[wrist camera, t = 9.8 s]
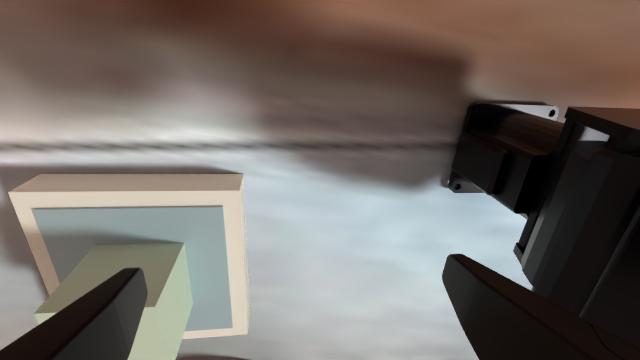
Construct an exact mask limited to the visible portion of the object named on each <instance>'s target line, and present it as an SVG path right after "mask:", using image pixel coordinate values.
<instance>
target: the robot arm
mask: <svg viewBox="0 0 640 360" xmlns="http://www.w3.org/2000/svg"><path fill="white" fill-rule="evenodd" d="M477 107H478V111H477V112H476V113H474V112H475V109H476V108H477ZM550 111H551V112H550ZM549 112H550V114H549ZM558 113H559V109H558V107H556V106H552V105H538V104H512V103H486V102H475V103H472V104H471V105H470V106H469V108H468V110H467V114H466V118H465V122H464V126H463V130H462V134H461V135H460V138H459V142H458V146H457V150H456V154H455V158H454V162H453V166H452V168H453V169H452V173H451V177H450V181H449V189H450V190H451V191H453V192H454V193H486V194H487V195H490V196H492V197H493V198H494V199H496V200H497V201H499V202H500V203H501V204H503V205H504V206H506V207H507V208H508V209H510V210H511V211H513V212H514V213H517V214H520V215H521V216H523V217H524V218H526V219H527V222H526V225H525V227H524V230H523V232H522V235H521V237H520V240H519V243H516V245H515V247H514V250H513V252H514V253H515V255H516V257H517V258H518V260H519V262H520V264H521V265H522V271H523V272H524V274H525V276H526V277H527V279H528V280H529V282H530V283H531V285H532V286H533V287H532V289H531V291H530V290H529V289H527V288H525V287H523V286H521V285H519V284H517V283H515V282H514V281H512V280H510V279H508V278H506V277H504V276H502V275H501V274H499V273H497V272H495V271H493V270H491V269H489V268H487V267H486V266H484V265H482V264H480V263H478V262H476V261H474V260H472V259H471V258H469V257H467V256H465V255H463V254H450V255H449V256H448V257H447V260H446V263H445V267H444V270H443V274H442V280H443V284H444V286H445V288H446V291H447V293H448V295H449V298H450V300H451V303H452V305H453V307H454V310H455V312H456V315H457V317H458V319H459V322H460V324H461V326H462V328H463V330H464V332H465V334H466V336H467V338H468V340H469V342H470V343H471V345H472V347H473V349H474V351H475V353H476V355H477V356H478V358H479V360H640V109H626V108H597V107H568V109H567V112H566V114H565V117H564V118H566V121H565V123H561V122H558V121H556V119H557V116H558ZM548 114H549V115H548ZM456 184H458V186H457V187H455V185H456ZM147 296H148V290H147V285H146V281H145V276H144V272H143V270H142V268H140V267H130V268H124V269H122V270H120V271H119V272H117V273H116V274H114V275H113V276H111V277H110V278H108V279H107V280H105V281H104V282H102V283H101V284H99V285H98V286H96V287H95V288H93V289H92V290H90V291H89V292H87V293H86V294H84V295H83V296H81V297H80V298H78V299H77V300H75V301H74V302H72V303H71V304H69V305H68V306H66V307H65V308H63V309H62V310H60V311H59V312H57V313H56V314H54V315H53V316H51V317H50V318H48V319H47V320H45V321H44V322H42V323H41V324H39V325H38V326H36V327H35V328H33V329H32V330H30V331H29V332H27V333H26V334H24V335H23V336H21V337H20V338H18V339H17V340H15V341H14V342H12V343H11V344H9V345H8V346H6V347H5V348H3V349H2V350H0V360H128V357H129V355H130V352H131V349H132V346H133V343H134V340H135V336H136V333H137V330H138V327H139V323H140V320H141V317H142V313H143V310H144V307H145V304H146V300H147Z"/></svg>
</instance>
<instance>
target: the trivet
mask: <svg viewBox="0 0 640 360" xmlns="http://www.w3.org/2000/svg"><path fill="white" fill-rule="evenodd" d="M8 194H9V196H10V199H11V201H12V204H13V206H14V209H15V211H16V214H17V216H18V219H19V221H20V224H21V226H22V229H23V231H24V234H25V236H26V239H27V241H28V244H29V246H30V249H31V251H32V254H33V256H34V259H35V261H36V264H37V266H38V269H39V271H40V274H41V276H42V279H43V281H44V284H45V286H46V289H47V291H48V294H49V296H50V295H51V294H52V293H53V292H54V291H55V289H56V288H57V287H58V286H59V285H60V284H61V283H62V282H63V280H64V279H65V278H66V277H67V276H68V275H69V274H70V273H71V271H72V270H73V269H74V268H75V267H76V266H77V265H78V264H79V262H80V261H81V260H82V259H83V258H84V257H85V256H86V255H87V253H88V252H89V251H90V250H91V249H92V248H93V247H94V246H95V245H124V244H159V243H184V245H185V252H186V259H187V265H188V272H189V279H190V286H191V293H192V300H193V306H192V309H191V312H190V315H189V318H188V322H187V325H186V328H185V331H184V334H183V337H182V339H191V338H204V337H218V336H231V335H245V334H248V324H249V313H250V297H249V277H248V256H247V235H246V215H245V194H244V174H39V175H37V176H36V177H34V178H32V179H30V180H29V181H27V182H25V183H23V184H21V185H20V186H18V187H16V188H14V189H13V190H11V191H9V192H8Z"/></svg>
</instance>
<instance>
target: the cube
mask: <svg viewBox="0 0 640 360" xmlns="http://www.w3.org/2000/svg"><path fill="white" fill-rule="evenodd" d="M130 267H140V268H142V270H143V272H144V276H145V281H146V285H147V290H148V296H147V300H146V304H145V307H144V310H143V313H142V317H141V320H140V323H139V327H138V330H137V333H136V336H135V340H134V343H133V346H132V349H131V352H130V355H129V357H128V360H176V357H177V353H178V350H179V347H180V344H181V341H182V337H183V334H184V331H185V328H186V325H187V322H188V318H189V315H190V312H191V309H192V306H193V300H192V293H191V286H190V279H189V272H188V265H187V259H186V252H185V245H184V243H159V244H124V245H95V246H94V247H93V248H92V249H91V250H90V251H89V252H88V253H87V255H86V256H85V257H84V258H83V259H82V260H81V261H80V262H79V264H78V265H77V266H76V267H75V268H74V269H73V270H72V271H71V273H70V274H69V275H68V276H67V277H66V278H65V279H64V280H63V282H62V283H61V284H60V285H59V286H58V287H57V288H56V289H55V291H54V292H53V293H52V294H51V295H50V296H49V297H48V298H47V300H46V301H45V302H44V303H43V304H42V305H41V306H40V308H39V309H38V310H37V311H36V312H35V313H34V315H35V317H36V320H37V322H38V324H41V323H42V322H44V321H45V320H47V319H48V318H50V317H51V316H53V315H54V314H56V313H57V312H59V311H60V310H62V309H63V308H65V307H66V306H68V305H69V304H71V303H72V302H74V301H75V300H77V299H78V298H80V297H81V296H83V295H84V294H86V293H87V292H89V291H90V290H92V289H93V288H95V287H96V286H98V285H99V284H101V283H102V282H104V281H105V280H107V279H108V278H110V277H111V276H113V275H114V274H116V273H117V272H119V271H120V270H122V269H124V268H130Z"/></svg>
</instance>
